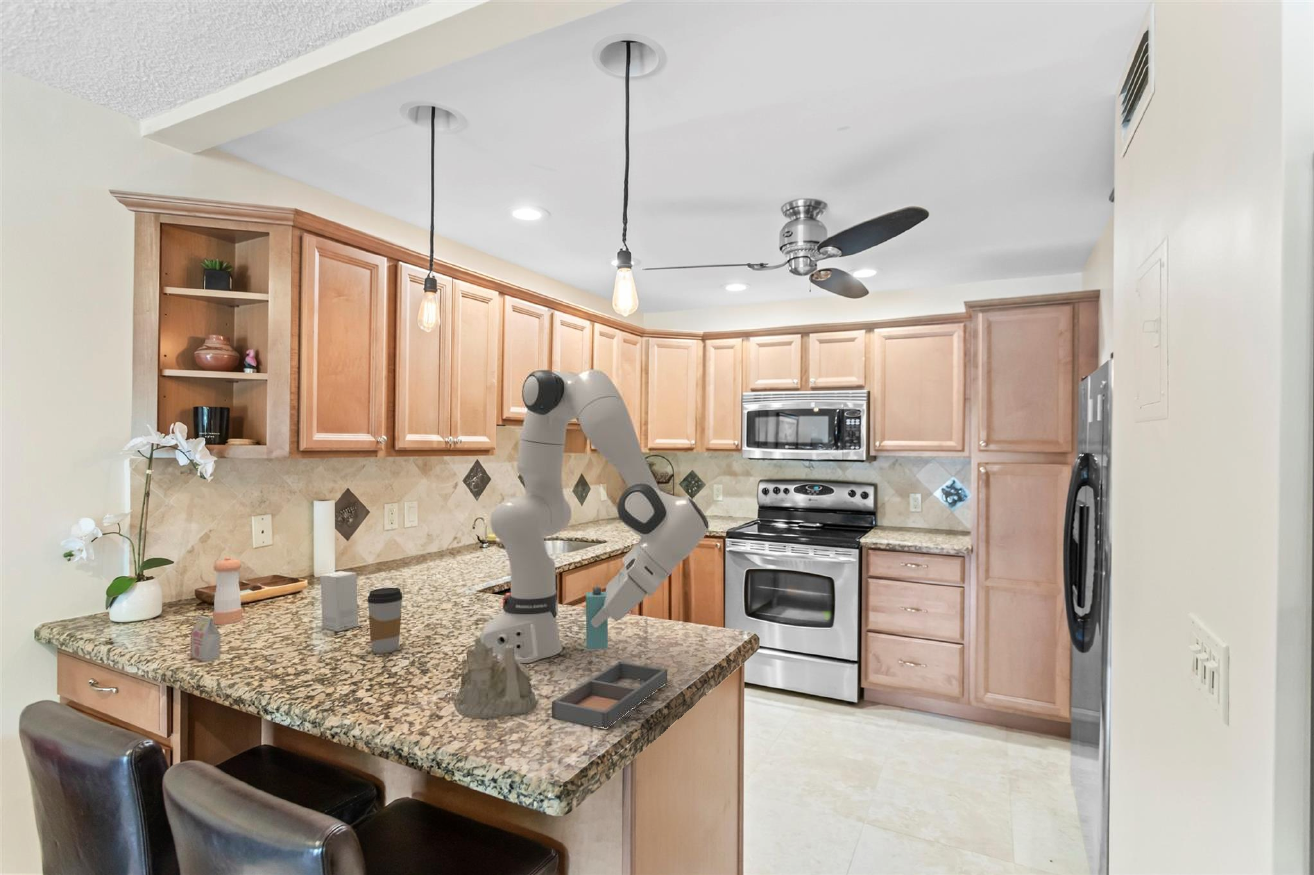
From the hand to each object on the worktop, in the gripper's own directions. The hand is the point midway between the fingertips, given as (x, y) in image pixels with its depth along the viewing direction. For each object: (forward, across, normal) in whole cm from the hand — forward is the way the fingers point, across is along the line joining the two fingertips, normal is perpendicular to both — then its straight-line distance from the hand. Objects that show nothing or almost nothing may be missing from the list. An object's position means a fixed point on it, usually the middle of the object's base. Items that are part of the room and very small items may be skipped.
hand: (593, 620), depth 124 cm
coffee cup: (+51, -42, -26) cm, 71 cm away
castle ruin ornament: (+27, -6, -2) cm, 27 cm away
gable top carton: (+81, -39, -57) cm, 107 cm away
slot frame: (+10, -5, +15) cm, 18 cm away
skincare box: (+66, -64, -41) cm, 101 cm away
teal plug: (+3, 0, +4) cm, 5 cm away
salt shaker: (+92, -74, -68) cm, 136 cm away
